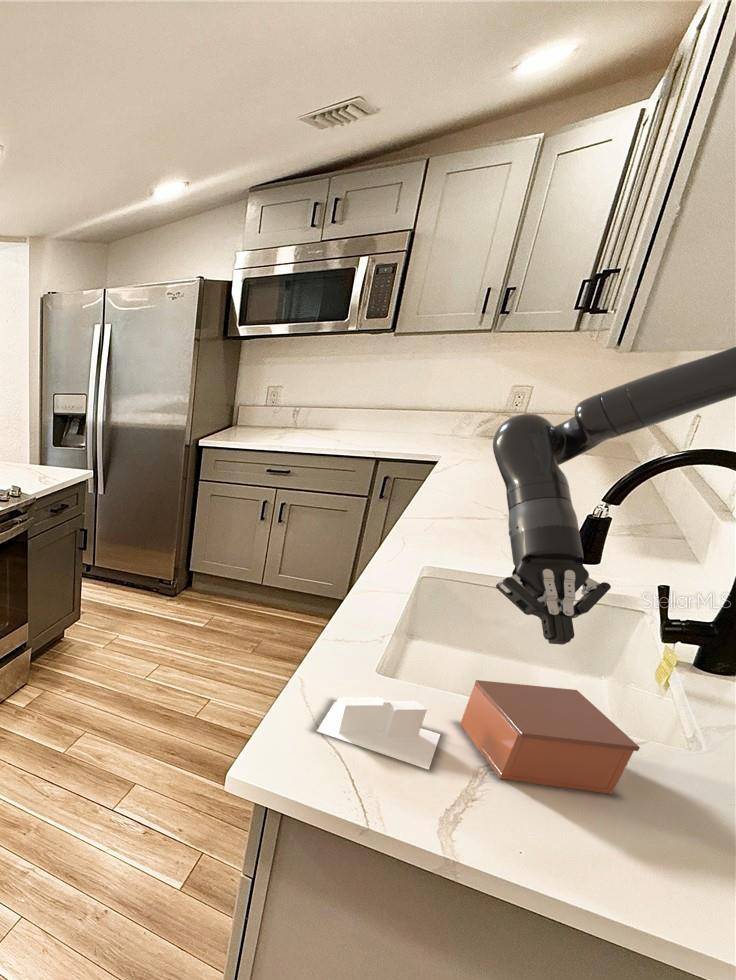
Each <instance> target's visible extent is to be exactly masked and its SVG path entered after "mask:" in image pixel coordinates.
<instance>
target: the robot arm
mask: <svg viewBox="0 0 736 980" xmlns="http://www.w3.org/2000/svg"><path fill="white" fill-rule="evenodd" d="M735 397H736V346H734V347H730V348H727V349H725V350H722V351H719V352H716V353H713V354H710V355H707V356H703V357H700V358H698V359H694V360H691V361H688V362H685V363H682V364H678V365H675V366H671V367H669V368H666V369H663V370H659V371H656V372H653V373H651V374H647V375H645V376H642V377H639V378H636V379H634V380H631V381H628V382H626V383H622V384H620V385H618V386H615V387H613V388H609V389H607V390H605V391H602V392H600V393H597V394H593V395H592V396H589V397H587V398H585V399H583V400H581V401H580V402H579V403H578V404H577V405H576V406H575V408H574V416H573V417H571V418H569V419H567V420H565V421H563V422H561V423H559V424H557V425H553V423H552V422H550V421H549V420H548V419H547V418H545V417H544V416H541V415H538V414H535V413H522V414H517V415H515V416H512V417H510V418H509V419H507V420H505V421H504V422H503V423H501V424H500V426H498V428H497V429H496V432H495V433H494V436H493V440H492V451H493V455H494V458H495V462H496V465H497V467H498V471H499V472H500V475H501V478H502V480H503V483H504V486H505V489H506V493H505V494H506V502H507V510H508V523H507V524H508V536H509V542H510V550H511V556H512V562H513V565H514V568H513V570H512V571H511V575H510V576H508V577H505V578H504V579H502V580H501V581H499V582H498V583H497V584H495V588H496V590H497V591H499V592H500V593H501V594H502V595H504V597H506V599H508V600H509V601H510V602H511V603H512V604H513V605H514V606H515V607H517V609H519V610H520V611H521V612H522V613H523V614H525V615H527V616H531V615H532V616H535V617H537V618H539V620H540V621H541V622H540V623H541V628H542V636H543V638H544V639H545V640H547V642H548V644H549V645H550V644H551V645H560V646H561V645H562V646H563V645H566V644H568V643H570V642H571V640H572V639H574V638H575V635H576V634H575V629H574V623H573V619H576V618H579V617H580V616H582V615H584V614H587V613H588V612H590V610H591V609H592V608H593V607H594V606H595V605H596V604H597V603H598V602H599V601H600V600H601V599H602V598H603V597H604V596H605V595H606V594H607V593H608V592H609V591H610V590H611V589H612V586H611V584H610V583H608V582H605V581H603V582H597V581H596V580H594V579H593V578H591V577H590V572H589V571H588V570H587V569H586V567H585V565H584V550H583V545H582V538H581V533H580V527H579V522H578V517H577V513H576V511H575V508H574V506H573V501H572V496H571V490H570V485H569V481H568V478H567V476H566V474H565V473H564V471H562V469H561V468H560V465H562V464H564V463H566V462H568V461H571V460H573V459H575V458H576V457H578V456H580V455H582V454H584V453H586V452H589V451H591V450H592V449H594V448H596V447H597V446H600V445H601V444H603V443H604V442H607V441H609V440H611V439H615V438H620V437H621V436H626V435H627V434H631V433H634V432H636V431H640V430H643V429H645V428H649V427H652V426H654V425H657V424H660V423H663V422H666V421H669V420H672V419H674V418H677V417H681V416H683V415H686V414H689V413H692V412H694V411H698V410H700V409H702V408H706V407H708V406H711V405H714V404H717V403H720V402H723V401H727V400H729V399H732V398H735ZM581 587H582V588H581ZM580 588H581V595H582V596H581V598H579V599H578V600H577V602H576V603H575V604H574V601H575V600H576V593H577V591H579V589H580Z"/></svg>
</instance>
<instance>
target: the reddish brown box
mask: <svg viewBox="0 0 736 980" xmlns="http://www.w3.org/2000/svg"><path fill="white" fill-rule="evenodd" d="M459 725H460V726H461V727H462V729H463V730H464V731H465V733H466V734H467V737H469V738H470V740H471V741H472V743H473V744H474V745H475V747H476V748H477V749H478V751H479V752H480V754H481V755H482V756H483V757H484V759H485V760H486V761H487V763H488V765H489V766H490V767H491V768H492V770H493V771H494V773H495V774H496V775H497V776H498V778H499V780H507V781H514V782H522V783H528V784H536V785H544V786H551V787H558V788H566V789H574V790H580V791H587V792H594V793H601V794H607V795H608V794H609V795H612V794H613V793H614V790H615V788H616V786H617V785H618V783H619V781H620V779H621V777H622V775H623V773H624V771H625V769H626V767H627V765H628V763H629V761H630V760H631V757H632V755H633V754H634V751H632V750H623V749H615V748H607V747H598V746H590V745H582V744H573V743H565V742H556V741H548V740H540V739H531V738H523V737H520V736H519V735H518V734H517V733H516V732H515V730H514V729H513V728H512V727H511V726H510V724H509V723H508V722H507V721H506V720H505V719H504V717H503V716H502V715H501V714H500V713H499V711H498V710H497V709H496V708H495V707H494V706H493V704H492V703H491V702H490V701H489V700H488V698H487V697H486V696H485V695H484V694H483V693H482V691H481V690H480V689H479V688H478V687H477V685H476V684H475V683H474V684H473V687H472V689H471V693H470V695H469V699H468V701H467V704H466V707H465V710H464V712H463V715H462V718H461V721H460V724H459Z"/></svg>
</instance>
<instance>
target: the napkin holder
mask: <svg viewBox="0 0 736 980" xmlns="http://www.w3.org/2000/svg"><path fill="white" fill-rule="evenodd" d="M427 711H428V710H427V708H426V707H425V706H424V705H423V704H421V703H420V702H419V701H417V700H388V699H387V698H386V699H385V698H384V697H383V696H363V697H362V696H350V697H349V696H339V697H337V700H336V701H334V702H333V704H332V705H331V707H330V709H329V711H328V712H327V714H326V715H325V717H324V719H323V720H322V722H321V723H320V725H319V727H318V728H317V729H316V732H318V733H321V734H323V735H326V736H329V737H332V738H335V739H338V740H341V741H344V742H347V743H350V744H353V745H356V746H358V747H362V748H364V749H367V750H369V751H370V750H371V751H373V752H375V753H379V754H382V755H384V756H388V757H391V758H393V759H396V760H399V761H402V762H406V763H408V764H411V765H414V766H417V767H420V768H422V769H425V770H428V771H429V770H430V766H431V764H432V761H433V758H434V755H435V752H436V749H437V746H438V743H439V741H440V737H441V733H437V732H434V731H432V730H428V729H425V728H422V726H423V722H424V719H425V716H426V713H427Z"/></svg>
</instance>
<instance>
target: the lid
mask: <svg viewBox="0 0 736 980" xmlns="http://www.w3.org/2000/svg"><path fill="white" fill-rule="evenodd" d="M474 684H476V685H477V687H478V688H479V689H480V690H481V691H482V693H483V694H484V695H485V696H486V697H487V698H488V700H489V701H490V702H491V703H492V704H493V706H494V707H495V708H496V709H497V710H498V711H499V713H500V714H501V715H502V716H503V717H504V719H505V720H506V721H507V722H508V723H509V724H510V726H511V727H512V728H513V729H514V730H515V732H516V733H517V734H518V735H519V736H520V737H523V738H531V739H540V740H548V741H556V742H565V743H573V744H582V745H590V746H598V747H607V748H615V749H623V750H632V751H633V752H639V750H640V748H641V747H640V745H638V744H637V743H636V742H635V741H634V740H633V739H632V738H630V737H629V736H628V735H627V734H626V733H625V732H624V731H623V730H621V729H620V728H619V727H618V726H617V725H616V723H614V722H613V721H612V720H611V719H610V718H608V717H607V715H605V714H604V713H603V712H602V711H601V710H600V709H599V708H598V707H596V706H595V704H593V703H592V702H591V701H590V700H589V699H588V698H586V697H585V696H584V695H583V694H582V693H581V692H580V691H578V689H571V688H560V687H552V686H541V685H531V684H520V683H512V682H511V683H510V682H501V681H491V680H490V681H489V680H480V679H476V680H475V681H474Z"/></svg>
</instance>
